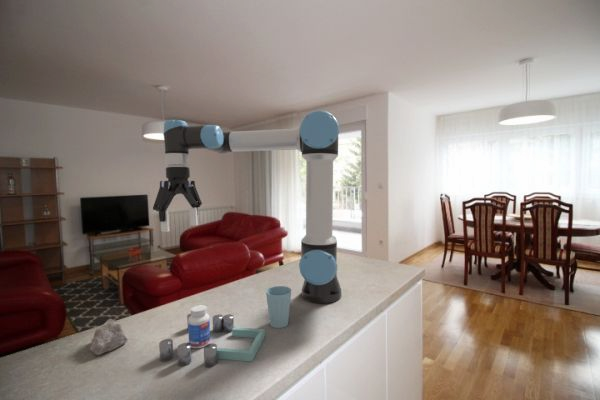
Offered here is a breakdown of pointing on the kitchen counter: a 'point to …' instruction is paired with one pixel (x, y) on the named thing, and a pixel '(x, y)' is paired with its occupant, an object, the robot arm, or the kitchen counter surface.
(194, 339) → the pill bottle
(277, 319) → the cup
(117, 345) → the stone
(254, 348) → the teal bay
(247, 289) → the kitchen counter surface
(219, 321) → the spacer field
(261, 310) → the kitchen counter surface
